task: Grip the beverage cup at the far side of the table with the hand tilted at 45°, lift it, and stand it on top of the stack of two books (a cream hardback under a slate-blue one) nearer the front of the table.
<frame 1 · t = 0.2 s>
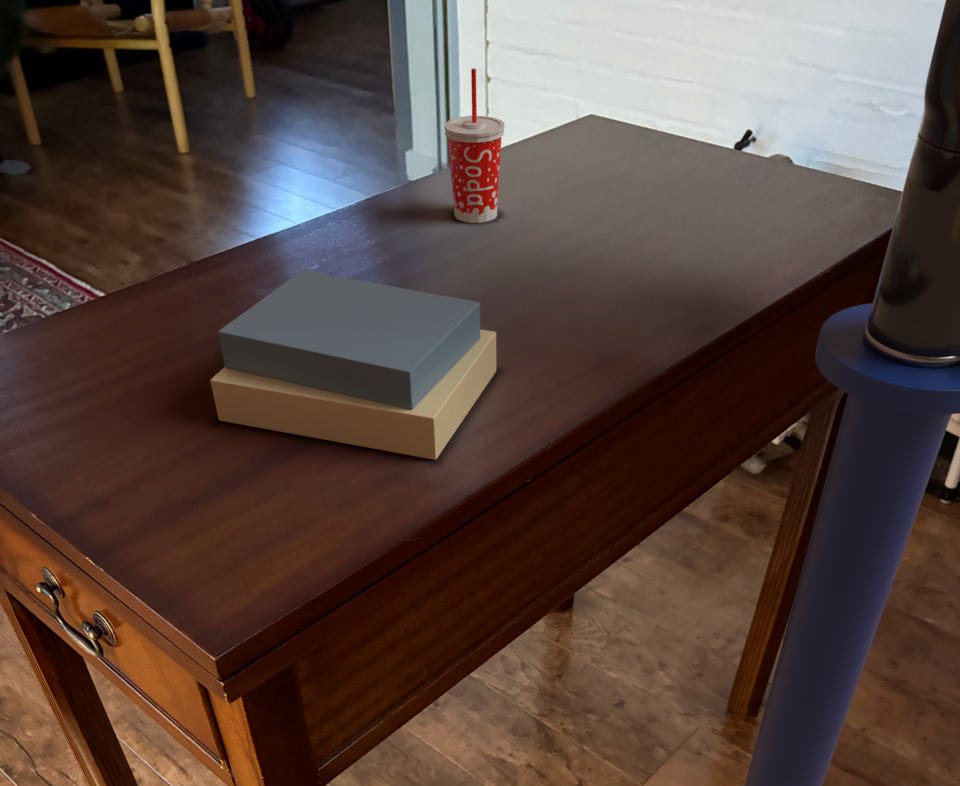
book stack: (362, 395, 80), on the table
beverage cup: (475, 216, 108), on the table
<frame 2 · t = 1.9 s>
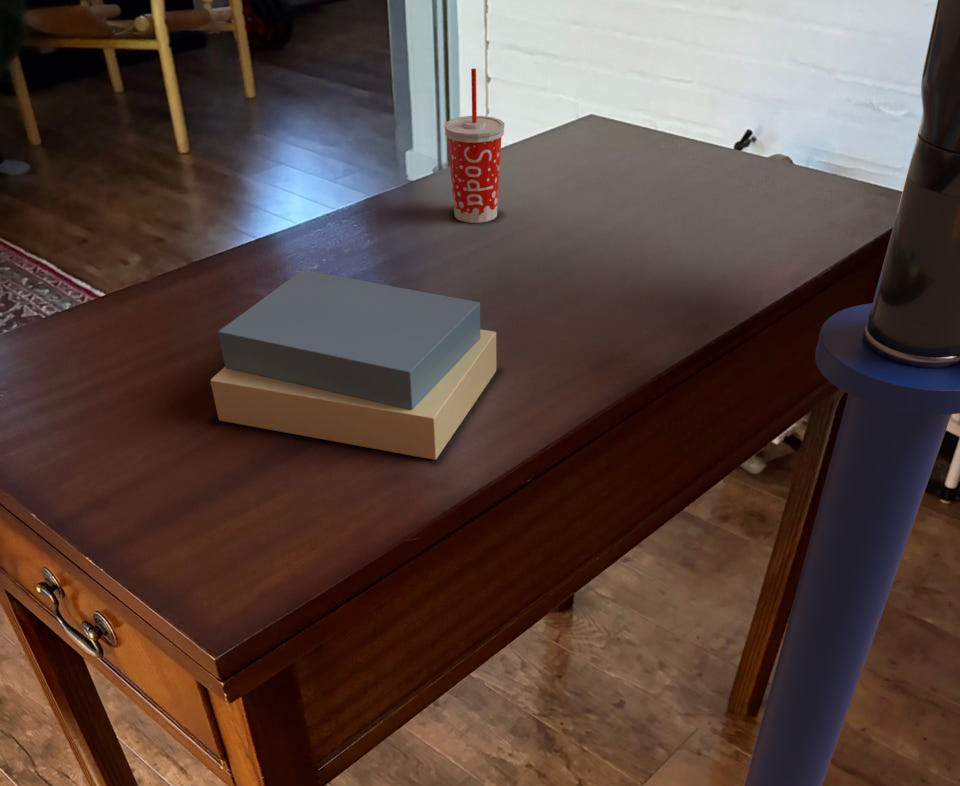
nothing on the table moved.
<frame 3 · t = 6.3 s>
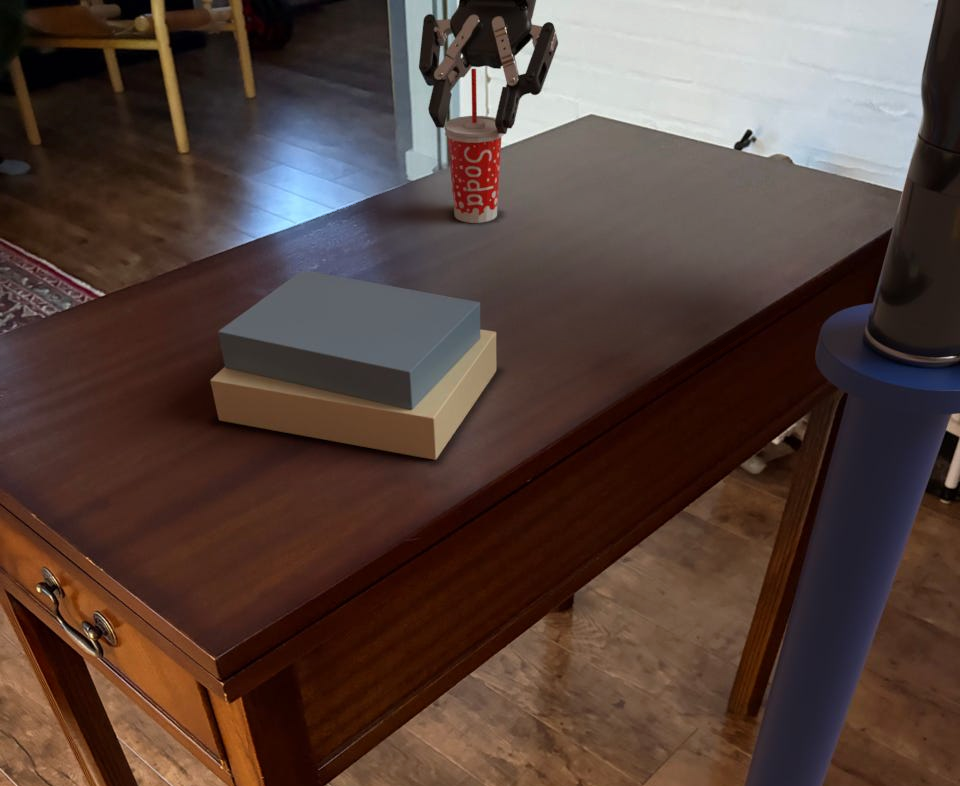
hand: (468, 126, 101), 9 cm above the table, tool tilted 45°, fingers closed on beverage cup, 6 cm apart
beverage cup: (475, 216, 108), on the table, touching gripper
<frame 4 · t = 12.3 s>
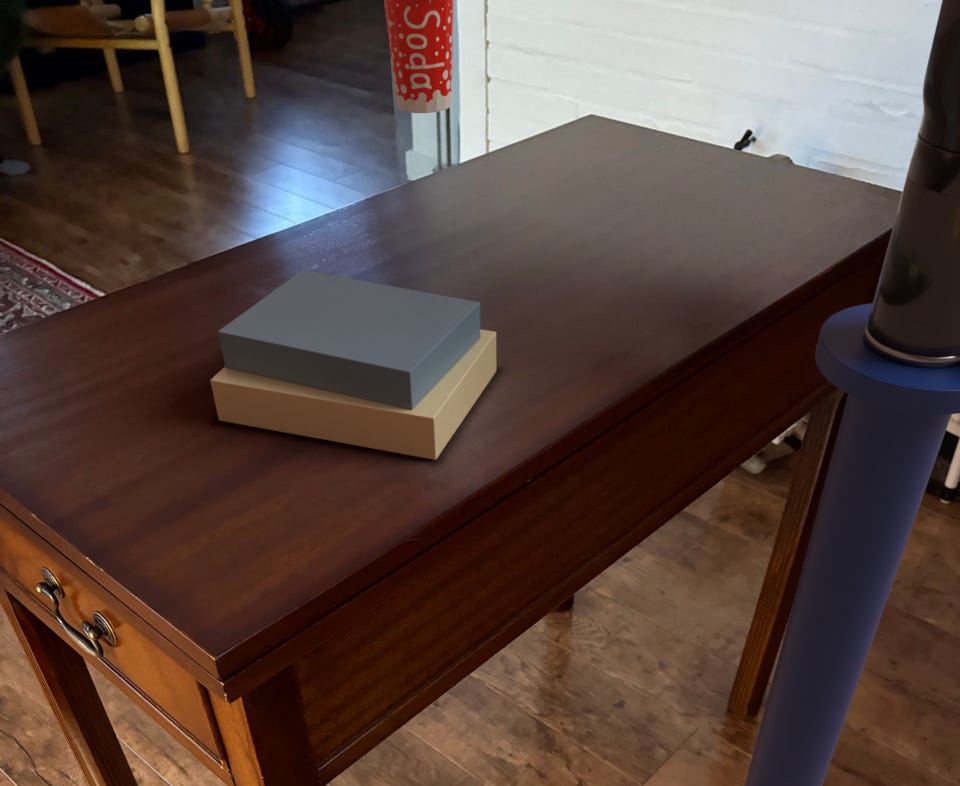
beverage cup: (424, 107, 85), point 15 cm above the table, touching gripper
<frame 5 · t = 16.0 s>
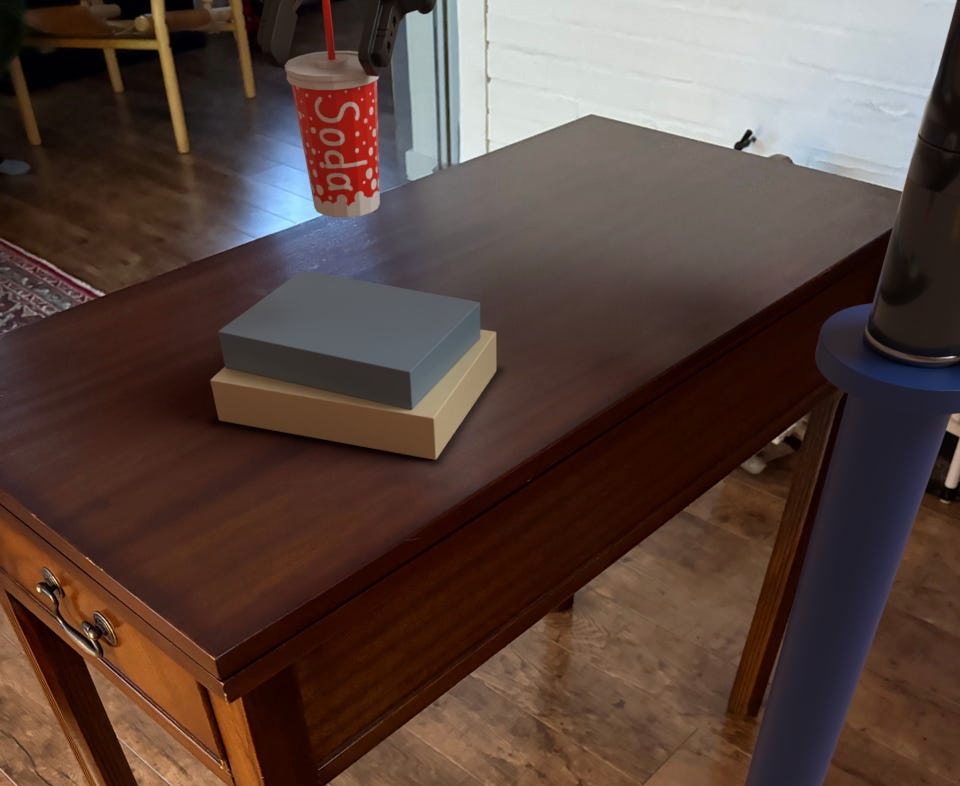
hand: (320, 64, 63), 24 cm above the table, tool tilted 45°, fingers closed on beverage cup, 6 cm apart
beverage cup: (347, 208, 71), point 14 cm above the table, touching gripper
when the fingers open (16 cm above the table, at t = 18.7 s): beverage cup stays where it is, resting on book stack.
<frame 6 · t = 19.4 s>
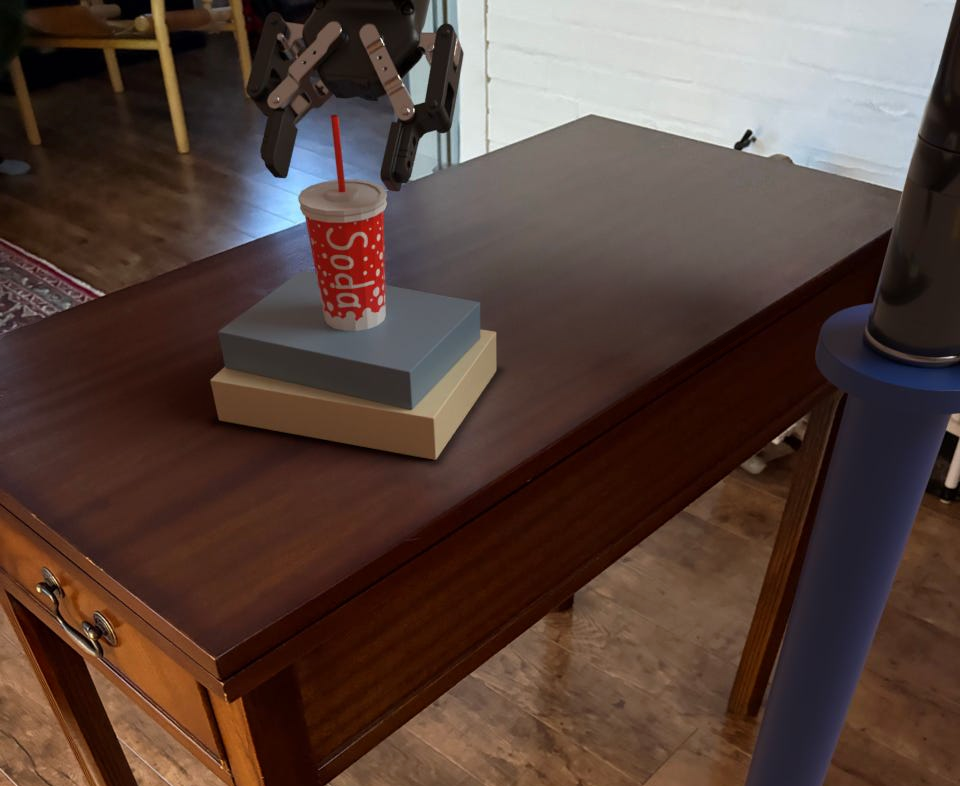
hand: (331, 179, 68), 17 cm above the table, tool tilted 45°, fingers open, 8 cm apart
beverage cup: (355, 319, 76), point 6 cm above the table, touching book stack
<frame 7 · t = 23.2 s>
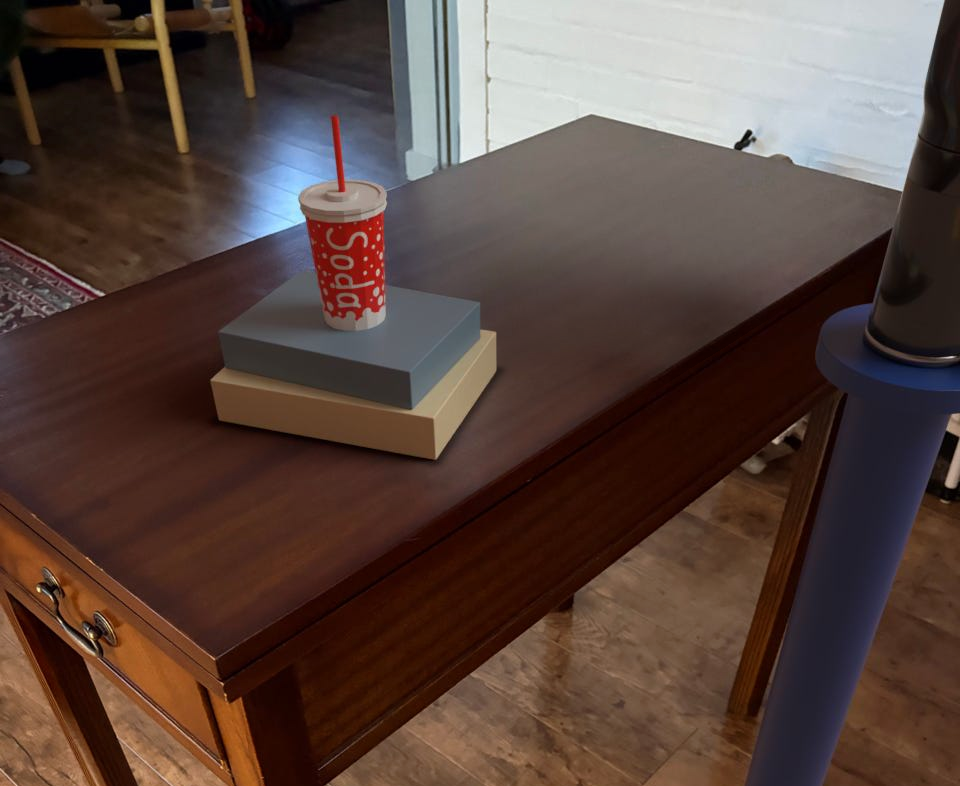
nothing on the table moved.
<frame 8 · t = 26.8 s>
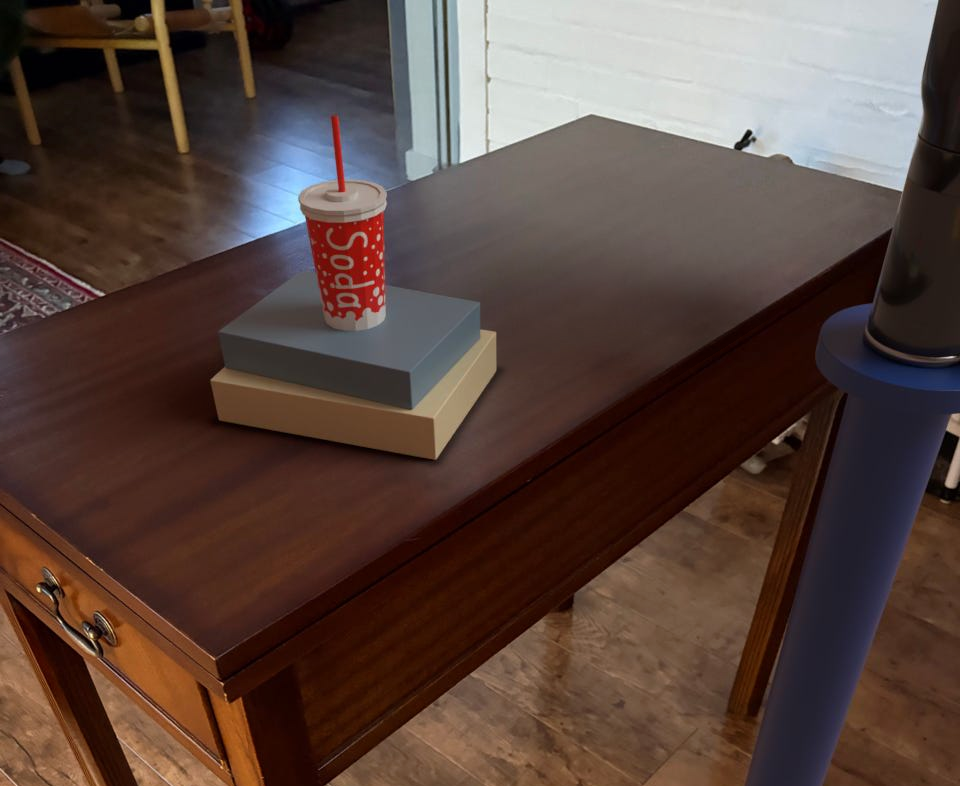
nothing on the table moved.
at the end: beverage cup inside the target area on the book stack (0.1 cm from its centre), point 6.3 cm above the book stack's base; beverage cup tilted 0°; the gripper is holding nothing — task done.
